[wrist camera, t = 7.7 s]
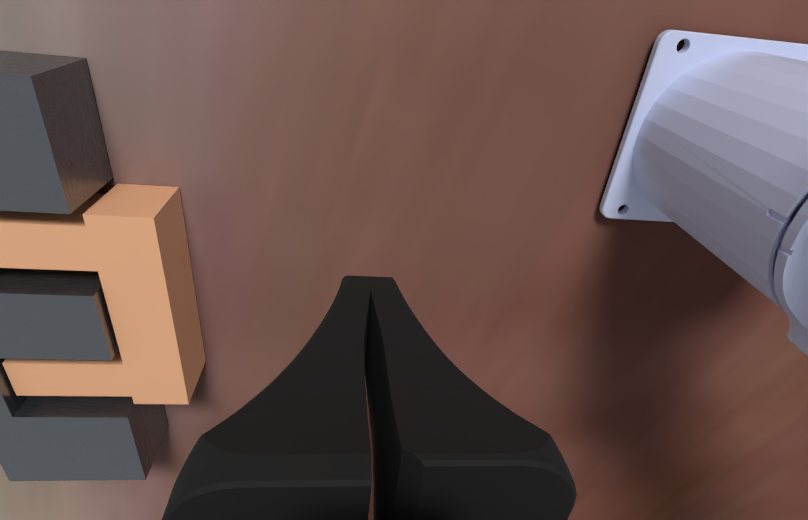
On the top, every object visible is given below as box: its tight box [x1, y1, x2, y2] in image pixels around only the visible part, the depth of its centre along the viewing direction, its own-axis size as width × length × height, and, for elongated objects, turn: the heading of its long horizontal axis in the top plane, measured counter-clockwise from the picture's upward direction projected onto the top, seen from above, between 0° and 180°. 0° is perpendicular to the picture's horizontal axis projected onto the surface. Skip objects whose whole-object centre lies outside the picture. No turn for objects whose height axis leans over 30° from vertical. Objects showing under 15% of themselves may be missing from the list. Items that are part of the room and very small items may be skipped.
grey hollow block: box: [0, 51, 168, 481], centre depth 21 cm, size 6×20×4 cm, turn 174°
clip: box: [0, 184, 206, 404], centre depth 21 cm, size 8×10×3 cm
